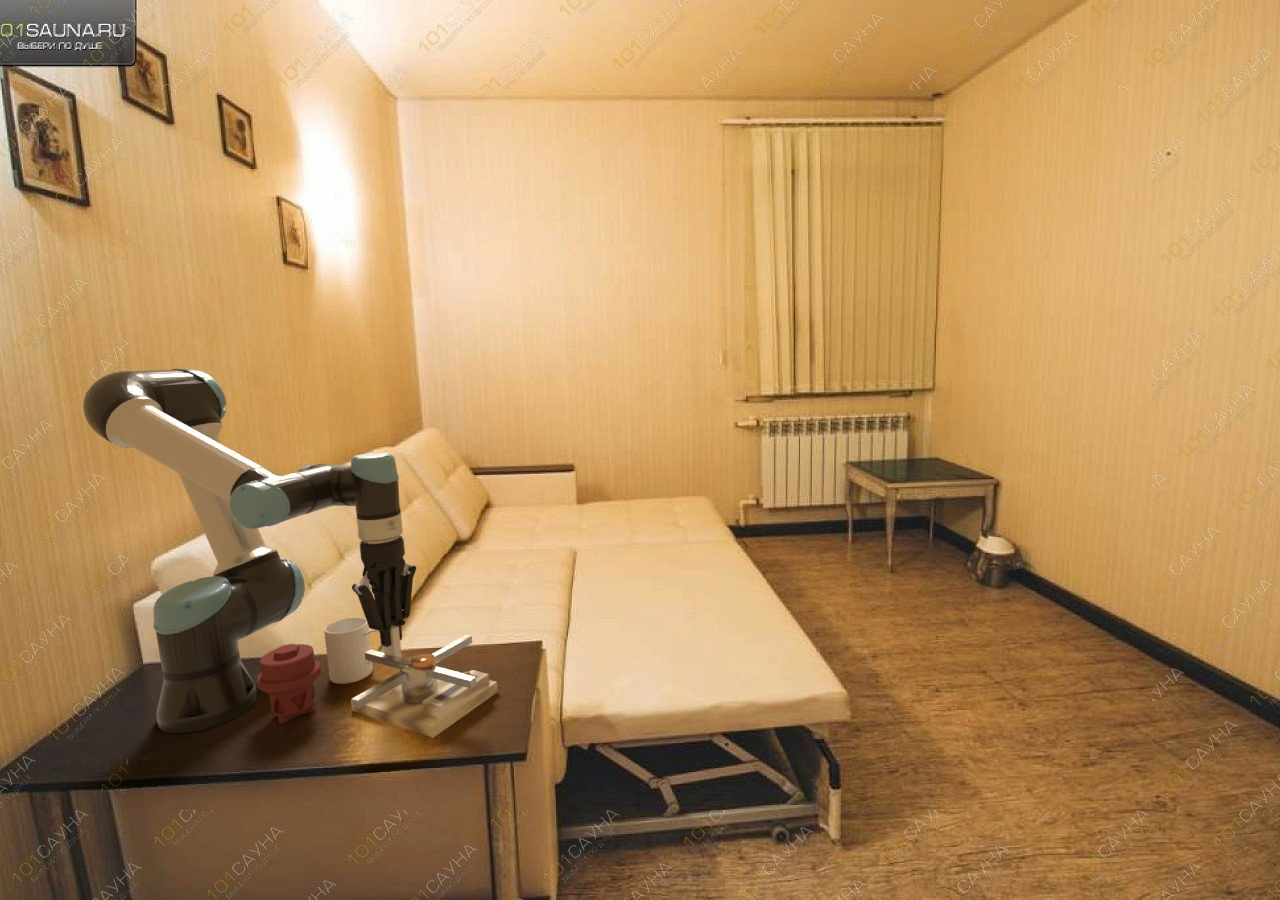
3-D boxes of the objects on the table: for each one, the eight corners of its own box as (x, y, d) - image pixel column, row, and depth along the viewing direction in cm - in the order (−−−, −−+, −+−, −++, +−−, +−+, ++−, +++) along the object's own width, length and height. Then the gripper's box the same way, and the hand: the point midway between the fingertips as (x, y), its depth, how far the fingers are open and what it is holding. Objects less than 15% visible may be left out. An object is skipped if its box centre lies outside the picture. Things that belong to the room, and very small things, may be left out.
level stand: (352, 710, 116) (348, 678, 115) (420, 671, 130) (417, 642, 129) (433, 737, 106) (429, 703, 106) (497, 691, 120) (495, 660, 119)
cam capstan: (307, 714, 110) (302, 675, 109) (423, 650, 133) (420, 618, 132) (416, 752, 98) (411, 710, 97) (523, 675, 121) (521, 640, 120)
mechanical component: (337, 700, 120) (299, 731, 110) (290, 697, 122) (248, 727, 112) (330, 637, 118) (290, 663, 108) (282, 635, 120) (239, 660, 110)
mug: (321, 684, 126) (315, 633, 125) (344, 665, 134) (338, 616, 132) (380, 685, 125) (375, 633, 123) (400, 665, 133) (395, 617, 131)
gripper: (365, 550, 111) (379, 679, 114) (423, 530, 122) (434, 648, 125) (336, 545, 114) (350, 671, 118) (395, 527, 125) (406, 642, 129)
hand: (393, 659), depth 121 cm, fingers closed
